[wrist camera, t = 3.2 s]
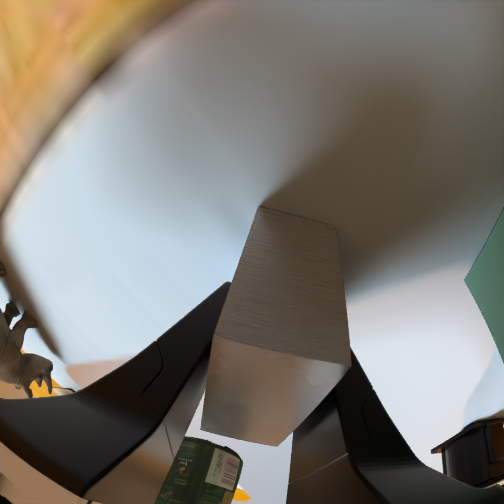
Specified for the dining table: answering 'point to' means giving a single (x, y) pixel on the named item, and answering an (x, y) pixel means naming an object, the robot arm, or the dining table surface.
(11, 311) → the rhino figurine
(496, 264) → the teal box
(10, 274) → the dining table surface
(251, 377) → the block
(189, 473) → the coffee jar
